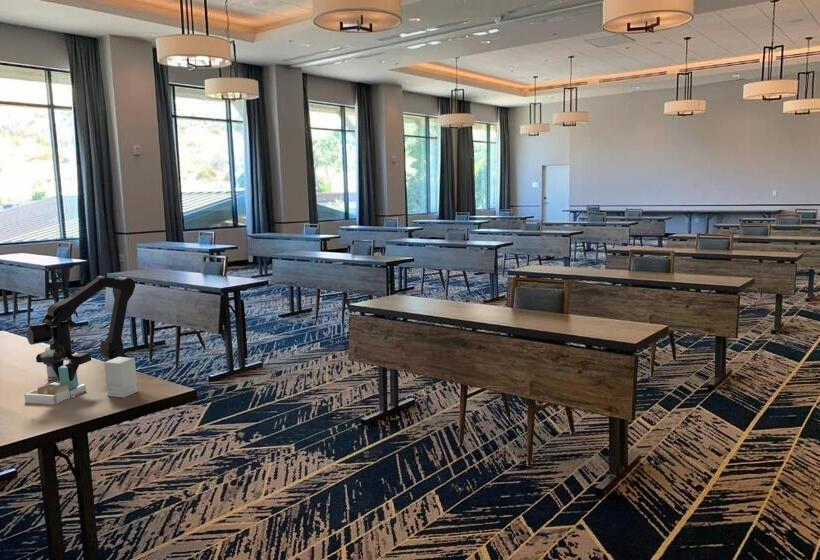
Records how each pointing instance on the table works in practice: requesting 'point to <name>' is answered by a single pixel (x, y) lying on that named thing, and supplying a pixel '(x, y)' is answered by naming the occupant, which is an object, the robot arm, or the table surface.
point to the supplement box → (121, 377)
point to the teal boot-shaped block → (66, 378)
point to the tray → (45, 397)
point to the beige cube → (58, 389)
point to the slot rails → (77, 390)
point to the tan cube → (45, 389)
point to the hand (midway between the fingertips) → (66, 380)
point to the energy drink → (50, 371)
